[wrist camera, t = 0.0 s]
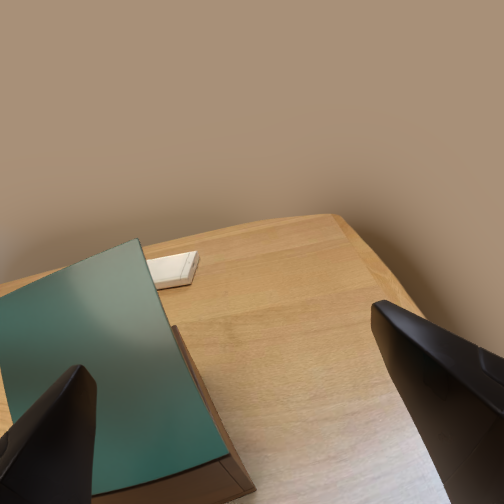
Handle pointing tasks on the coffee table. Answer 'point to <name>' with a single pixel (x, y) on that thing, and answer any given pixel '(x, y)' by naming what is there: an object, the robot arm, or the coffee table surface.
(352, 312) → the coffee table surface
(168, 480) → the box
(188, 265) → the hard drive
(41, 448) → the robot arm
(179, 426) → the lid
